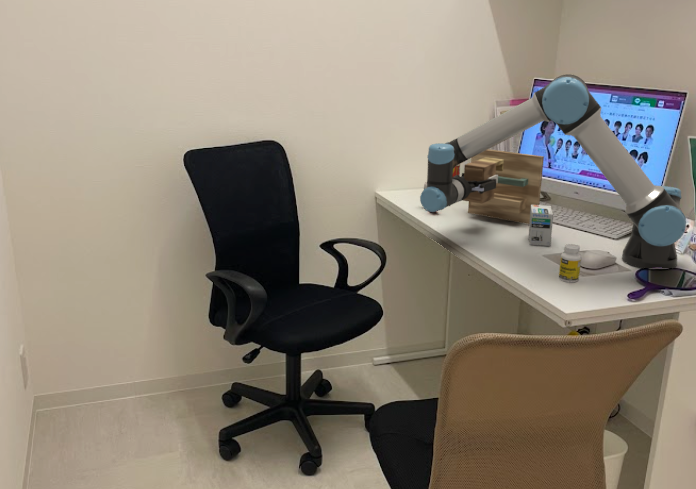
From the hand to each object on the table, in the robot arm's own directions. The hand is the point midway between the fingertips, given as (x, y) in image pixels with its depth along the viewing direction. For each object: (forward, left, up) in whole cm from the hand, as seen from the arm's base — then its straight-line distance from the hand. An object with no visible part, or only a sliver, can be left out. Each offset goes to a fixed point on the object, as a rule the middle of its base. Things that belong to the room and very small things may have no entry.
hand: (486, 177), depth 235 cm
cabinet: (-2, +1, -7) cm, 7 cm away
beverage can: (+47, +15, -18) cm, 52 cm away
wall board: (+13, -6, -18) cm, 23 cm away
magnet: (+18, +19, -18) cm, 32 cm away
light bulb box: (-10, -18, -18) cm, 28 cm away
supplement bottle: (-44, -24, -18) cm, 54 cm away
